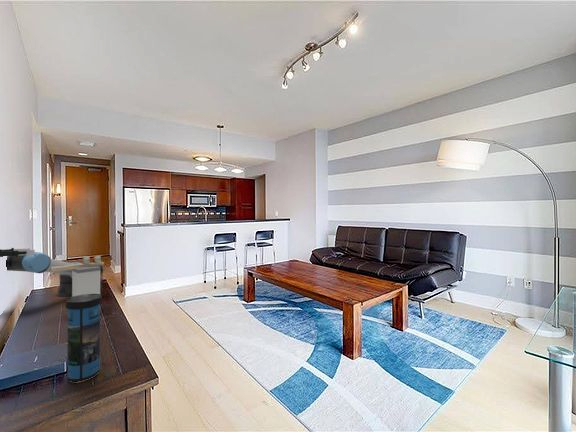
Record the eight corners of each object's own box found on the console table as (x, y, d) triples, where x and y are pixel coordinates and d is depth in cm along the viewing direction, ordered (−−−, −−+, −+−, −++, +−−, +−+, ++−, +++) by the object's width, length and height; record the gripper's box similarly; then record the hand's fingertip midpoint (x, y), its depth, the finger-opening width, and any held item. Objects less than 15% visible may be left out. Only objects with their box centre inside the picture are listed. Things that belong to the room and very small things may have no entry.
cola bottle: (105, 297, 208) (106, 256, 207) (96, 300, 199) (97, 257, 199) (95, 296, 209) (95, 255, 208) (85, 300, 200) (85, 257, 200)
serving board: (50, 270, 165) (50, 260, 165) (102, 264, 185) (102, 255, 185) (51, 271, 163) (51, 261, 163) (104, 265, 182) (104, 256, 182)
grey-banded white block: (72, 312, 177) (72, 267, 176) (94, 307, 186) (94, 264, 185) (76, 317, 169) (77, 269, 168) (100, 312, 178) (100, 267, 177)
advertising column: (108, 369, 114) (108, 294, 114) (84, 386, 103) (84, 303, 103) (84, 366, 116) (84, 292, 116) (57, 382, 105) (57, 301, 104)
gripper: (-27, 259, 150) (27, 256, 167) (-24, 263, 134) (36, 260, 151) (-26, 245, 151) (28, 243, 167) (-23, 247, 135) (36, 245, 151)
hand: (32, 251), depth 159 cm, fingers open, 13 cm apart
